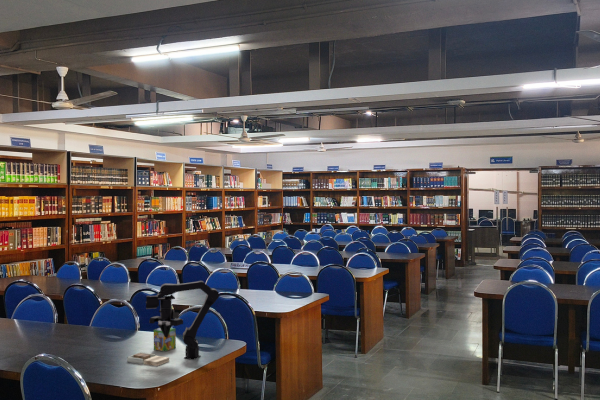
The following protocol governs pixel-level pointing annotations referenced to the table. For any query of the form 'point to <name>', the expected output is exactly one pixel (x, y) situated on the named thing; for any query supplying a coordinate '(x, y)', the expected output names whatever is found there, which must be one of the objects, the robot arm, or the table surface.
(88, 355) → the table surface
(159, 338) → the chalk box
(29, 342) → the table surface
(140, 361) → the tray
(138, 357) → the tile
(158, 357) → the beige square slab
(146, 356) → the tile
